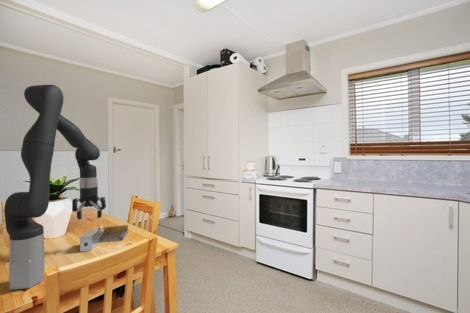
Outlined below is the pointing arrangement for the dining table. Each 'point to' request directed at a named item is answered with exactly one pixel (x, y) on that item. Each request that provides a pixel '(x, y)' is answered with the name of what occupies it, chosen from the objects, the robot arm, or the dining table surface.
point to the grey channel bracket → (113, 233)
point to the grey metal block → (89, 240)
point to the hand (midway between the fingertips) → (89, 218)
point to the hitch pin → (100, 229)
